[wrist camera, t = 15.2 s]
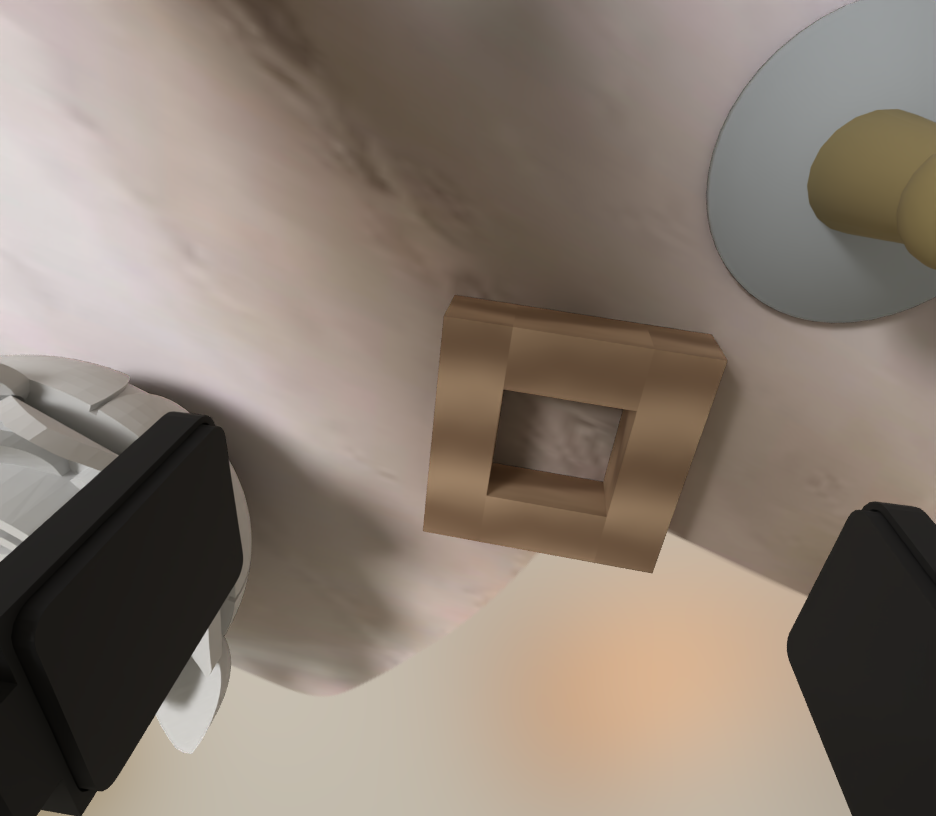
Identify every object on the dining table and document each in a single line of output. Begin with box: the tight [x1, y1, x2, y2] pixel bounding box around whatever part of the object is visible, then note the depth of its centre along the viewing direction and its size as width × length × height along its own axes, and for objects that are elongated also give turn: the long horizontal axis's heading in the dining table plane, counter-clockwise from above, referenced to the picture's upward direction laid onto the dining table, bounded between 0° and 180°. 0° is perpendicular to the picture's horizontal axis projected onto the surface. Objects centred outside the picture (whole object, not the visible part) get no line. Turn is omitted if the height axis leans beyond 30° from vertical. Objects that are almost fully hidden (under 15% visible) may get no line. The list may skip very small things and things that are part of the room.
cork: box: [807, 109, 936, 270], centre depth 26 cm, size 6×6×11 cm
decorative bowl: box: [0, 355, 252, 754], centre depth 41 cm, size 30×30×15 cm
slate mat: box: [706, 0, 936, 323], centre depth 31 cm, size 16×16×1 cm
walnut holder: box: [423, 295, 727, 573], centre depth 39 cm, size 16×16×4 cm
